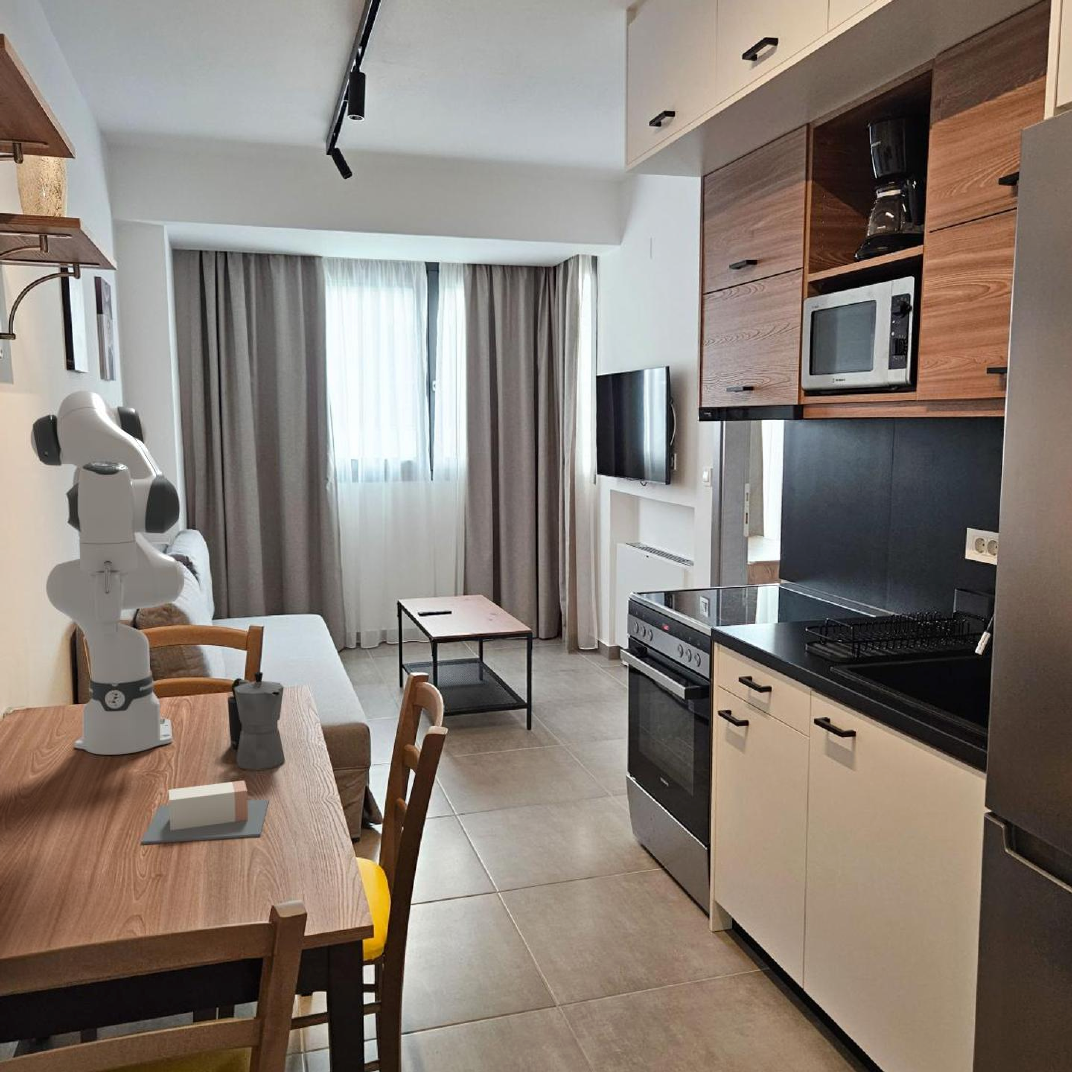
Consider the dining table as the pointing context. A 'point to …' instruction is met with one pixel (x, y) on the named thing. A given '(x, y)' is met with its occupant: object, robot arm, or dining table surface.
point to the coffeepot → (258, 723)
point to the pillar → (208, 805)
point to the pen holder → (234, 723)
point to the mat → (207, 826)
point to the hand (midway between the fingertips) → (111, 637)
